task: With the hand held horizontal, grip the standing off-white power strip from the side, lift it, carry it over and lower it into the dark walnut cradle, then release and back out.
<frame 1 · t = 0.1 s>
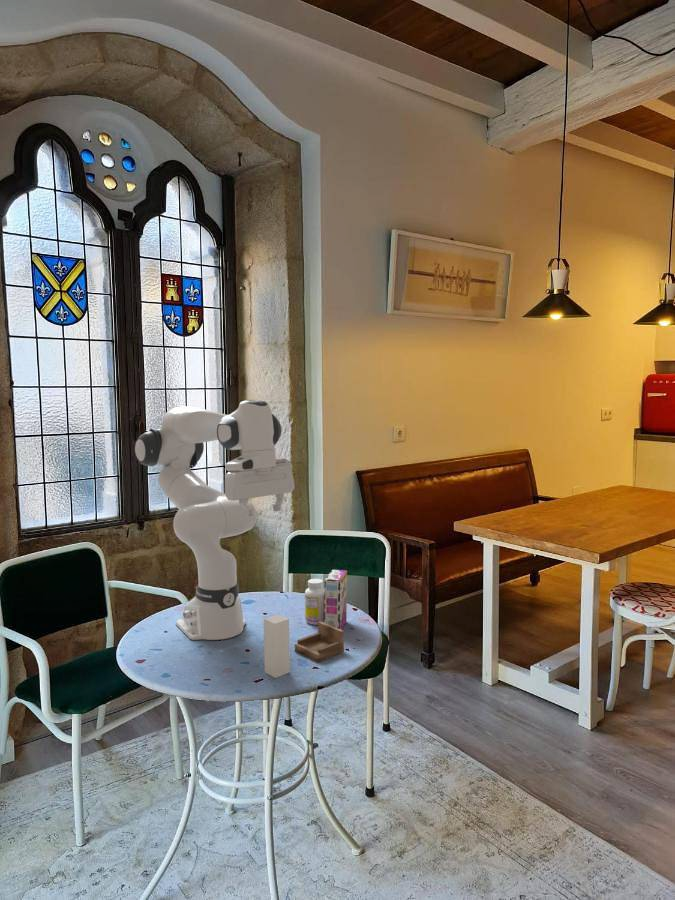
hand: (263, 513, 167), 39 cm above the table, tool pointing down, fingers open, 8 cm apart
candy bar box: (336, 628, 190), on the table
supplement bottle: (316, 622, 195), on the table
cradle: (319, 651, 173), on the table
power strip: (277, 672, 161), on the table
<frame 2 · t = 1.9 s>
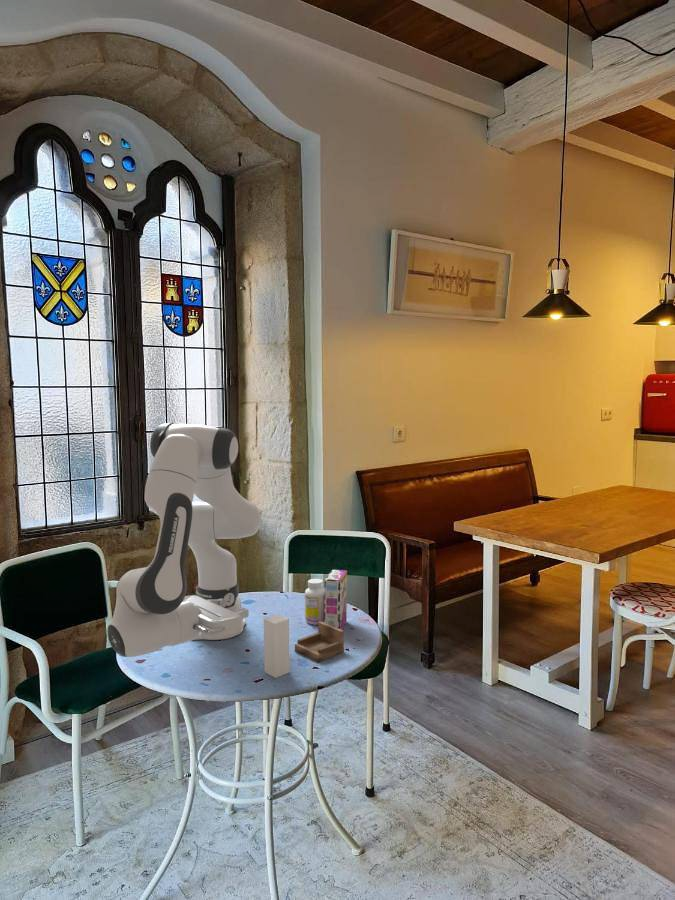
hand: (235, 607, 151), 20 cm above the table, tool horizontal, fingers open, 8 cm apart
nothing on the table moved.
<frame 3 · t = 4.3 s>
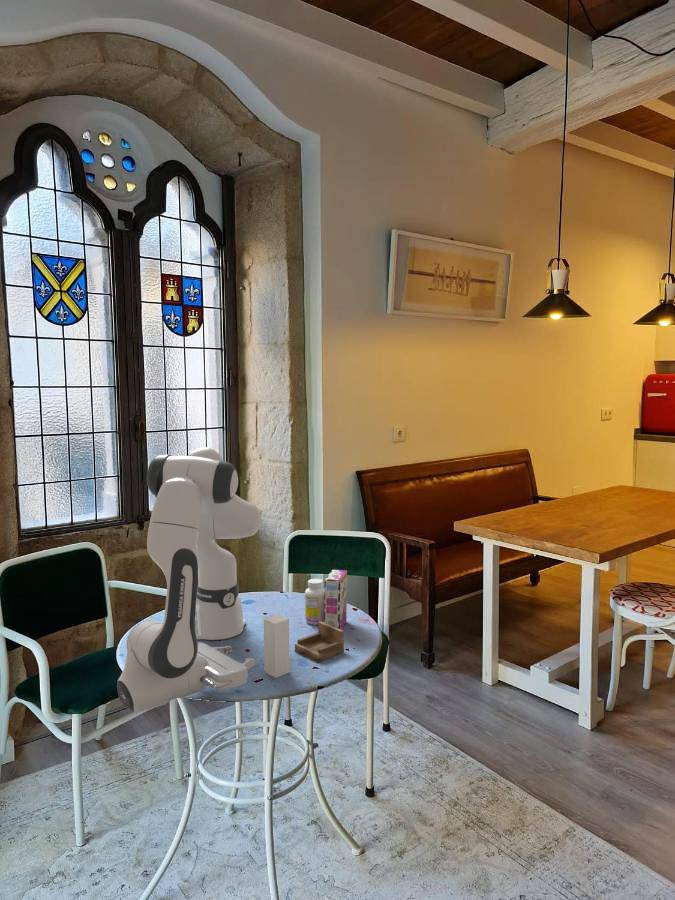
hand: (241, 655, 153), 8 cm above the table, tool horizontal, fingers open, 8 cm apart
nothing on the table moved.
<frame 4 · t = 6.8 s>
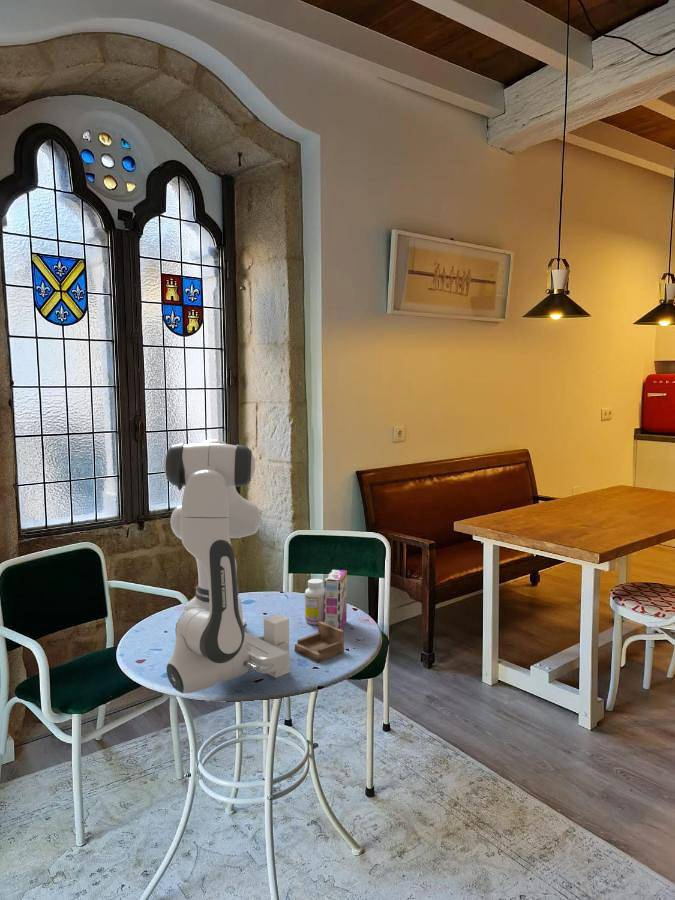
hand: (279, 641, 161), 8 cm above the table, tool horizontal, fingers closed on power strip, 4 cm apart
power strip: (277, 672, 161), on the table, touching gripper
everything else where it was.
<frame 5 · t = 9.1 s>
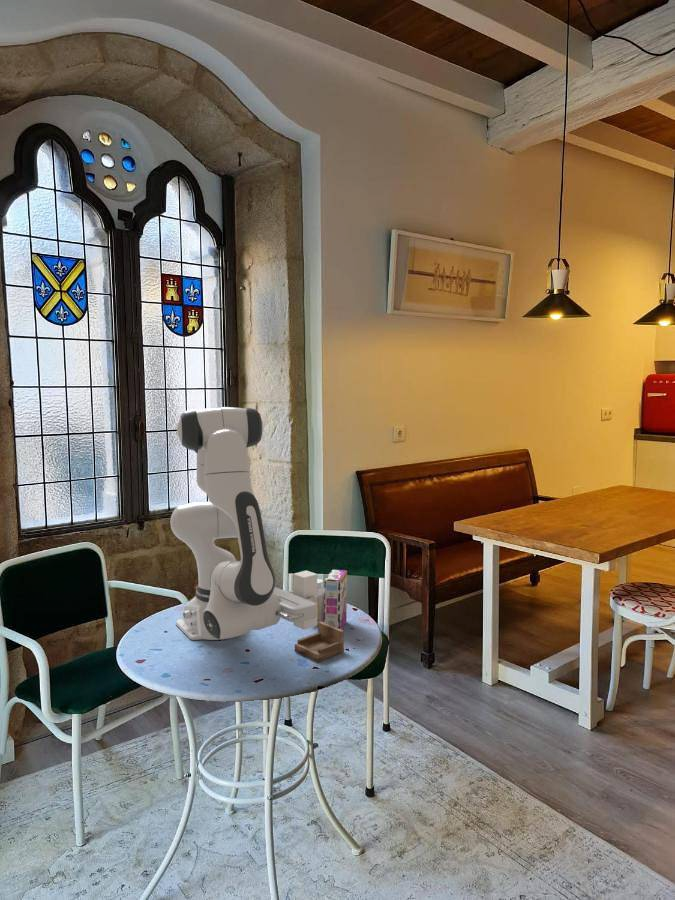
hand: (307, 596, 168), 17 cm above the table, tool horizontal, fingers closed on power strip, 4 cm apart
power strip: (305, 625, 168), point 9 cm above the table, touching gripper
everything else where it was.
when the fingers open (10 cm above the table, at t = 11.6 s): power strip drops 1 cm, resting on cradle.
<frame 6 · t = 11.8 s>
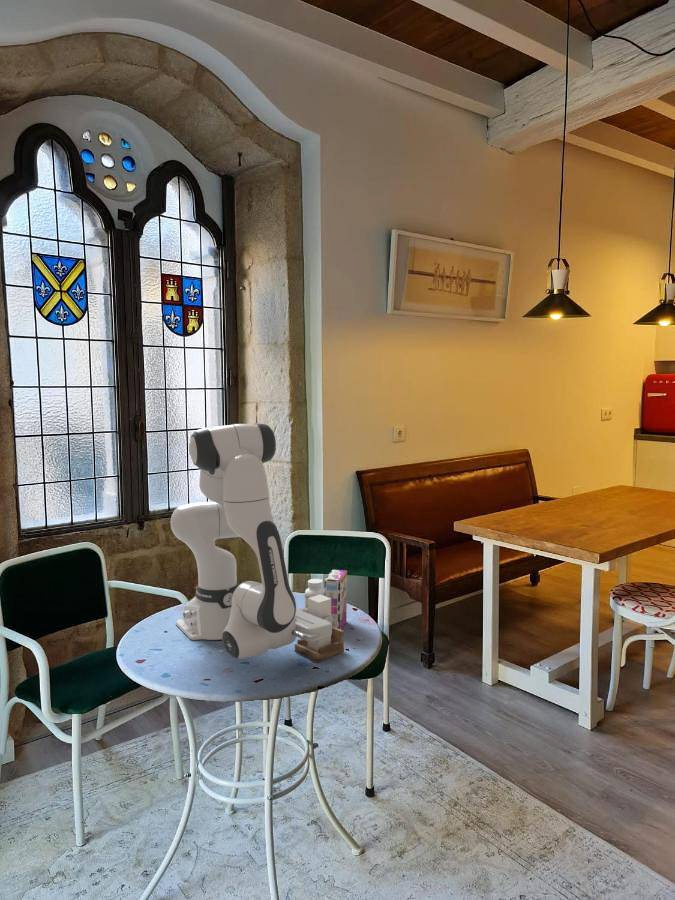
hand: (321, 614, 173), 10 cm above the table, tool horizontal, fingers open, 6 cm apart
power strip: (319, 647, 173), point 1 cm above the table, touching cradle
everything else where it was.
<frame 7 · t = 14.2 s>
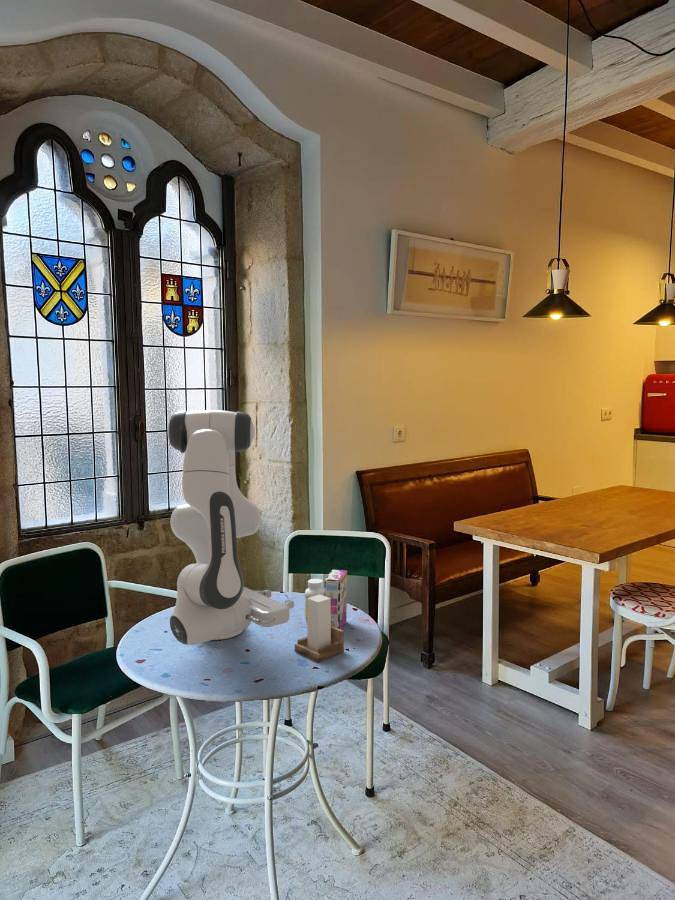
hand: (280, 598, 163), 18 cm above the table, tool horizontal, fingers open, 8 cm apart
nothing on the table moved.
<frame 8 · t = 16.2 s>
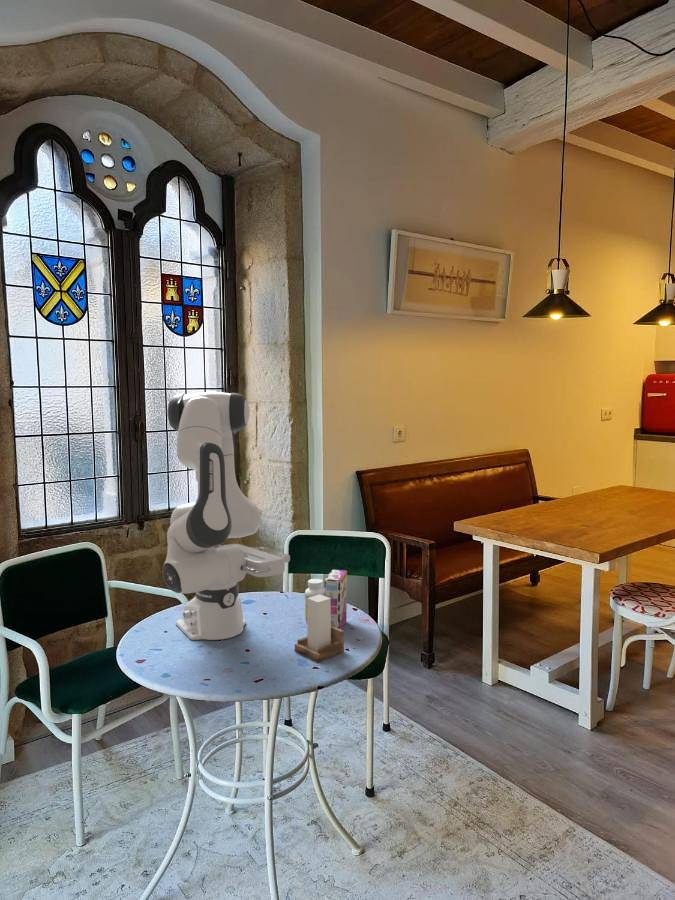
hand: (276, 553, 161), 30 cm above the table, tool horizontal, fingers open, 8 cm apart
nothing on the table moved.
at the end: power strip inside the target area on the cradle (0.0 cm from its centre), point 1.0 cm above the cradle's base; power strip tilted 0°; the gripper is holding nothing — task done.
